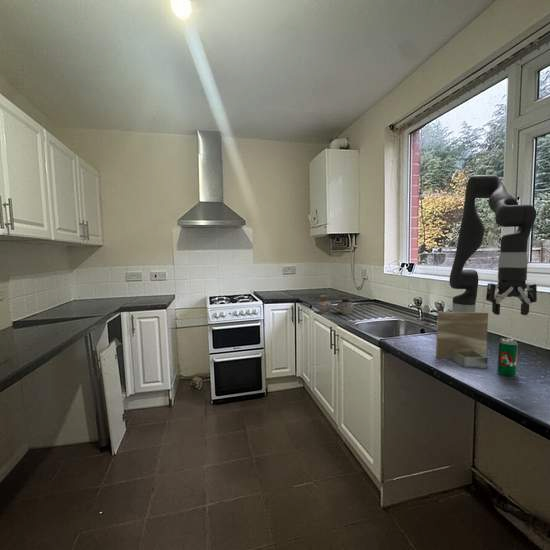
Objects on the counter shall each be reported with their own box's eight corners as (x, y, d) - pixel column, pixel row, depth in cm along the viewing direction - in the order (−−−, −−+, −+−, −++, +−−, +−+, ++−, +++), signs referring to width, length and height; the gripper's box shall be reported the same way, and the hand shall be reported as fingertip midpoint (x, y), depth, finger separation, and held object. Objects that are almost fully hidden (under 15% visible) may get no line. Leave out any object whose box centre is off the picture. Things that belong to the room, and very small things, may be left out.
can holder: (450, 357, 120) (450, 348, 119) (472, 358, 119) (472, 349, 118) (462, 366, 110) (463, 357, 110) (487, 367, 109) (487, 358, 109)
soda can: (508, 371, 105) (510, 337, 105) (519, 377, 100) (521, 342, 100) (493, 371, 106) (495, 337, 105) (504, 377, 101) (506, 342, 100)
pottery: (317, 311, 213) (317, 294, 212) (354, 312, 208) (354, 295, 207) (316, 314, 202) (316, 296, 201) (355, 316, 197) (355, 297, 196)
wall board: (435, 355, 122) (437, 311, 120) (483, 357, 120) (486, 312, 118) (437, 357, 120) (439, 312, 119) (485, 358, 118) (488, 313, 117)
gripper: (527, 265, 103) (525, 313, 104) (483, 265, 105) (480, 312, 106) (544, 266, 96) (541, 317, 97) (496, 266, 97) (494, 316, 98)
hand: (510, 314), depth 101 cm, fingers open, 8 cm apart
